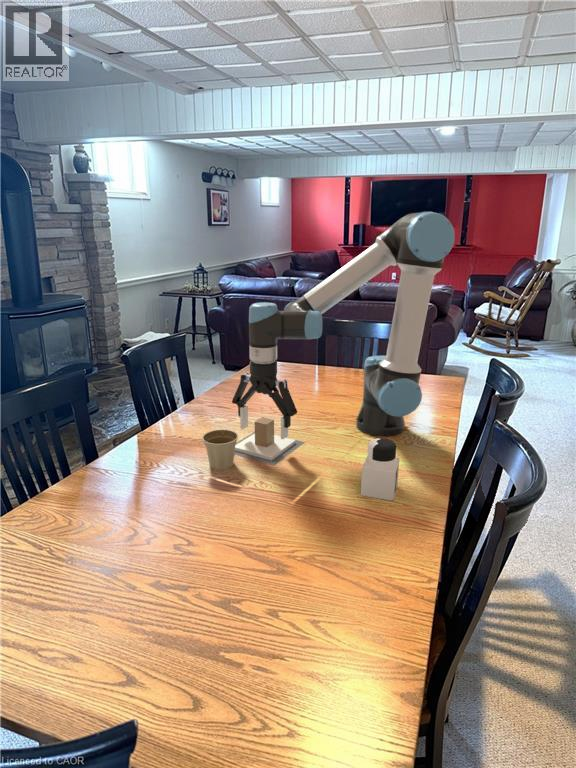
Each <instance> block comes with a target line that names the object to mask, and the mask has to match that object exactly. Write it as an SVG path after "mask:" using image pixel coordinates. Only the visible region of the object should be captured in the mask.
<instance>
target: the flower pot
mask: <svg viewBox="0 0 576 768" xmlns="http://www.w3.org/2000/svg"><path fill="white" fill-rule="evenodd" d="M238 439H239V434H238V433H237V432H236V431H234V430H231V429H221V428H220V429H213V430H210V431H208V432H206V433H204V434H203V435H202V438H201V440H202V442H203V443H204V446H205V449H206V454H207V457H208V458H207V459H208V462H209V463H208V464H209V466H210V468H212V469H214V470H220V471H221V470H225V469H229V468H231V467H233V466H234V464H235V463H234V460H235V454H234V453H235V444H236V443H237V442H238Z"/></svg>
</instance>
